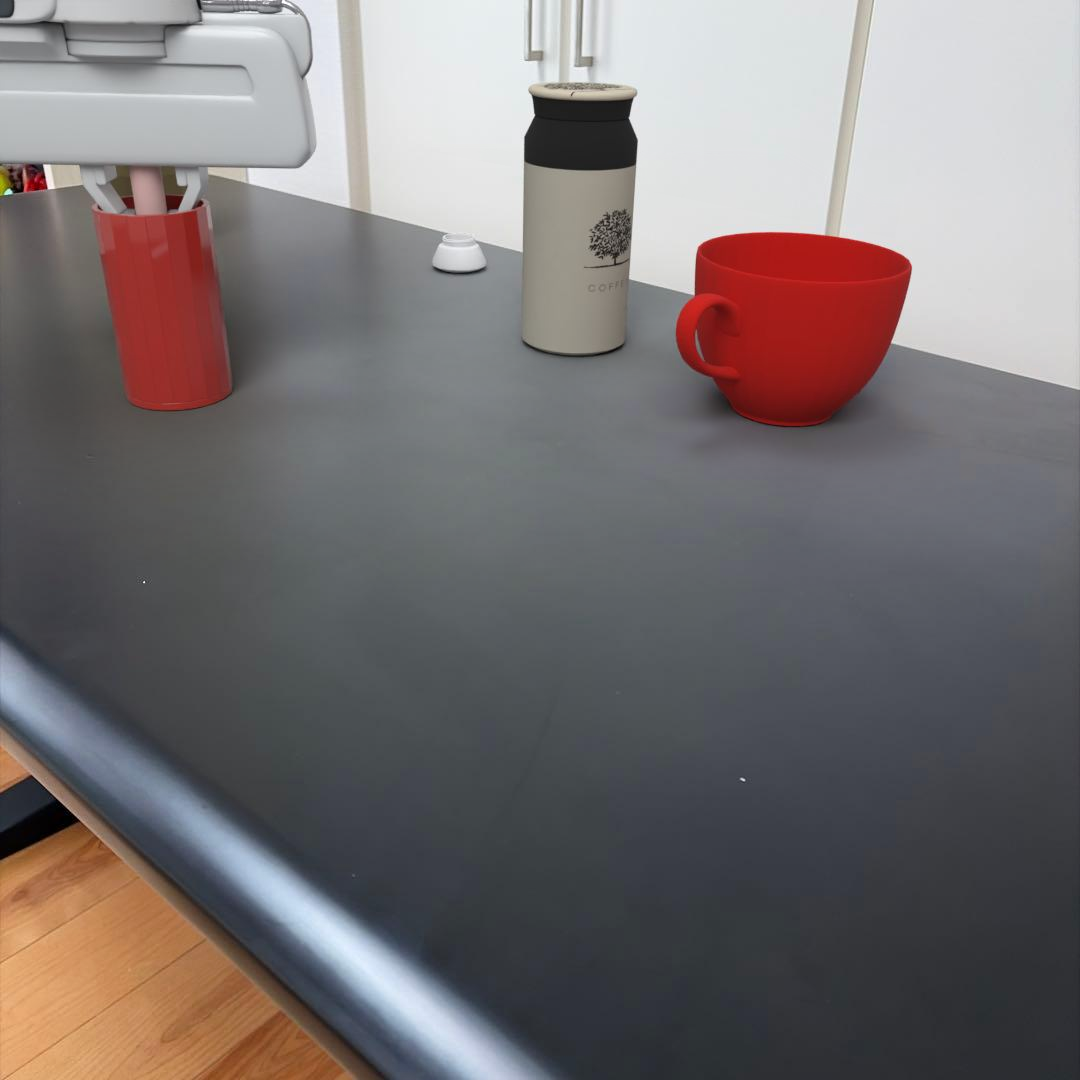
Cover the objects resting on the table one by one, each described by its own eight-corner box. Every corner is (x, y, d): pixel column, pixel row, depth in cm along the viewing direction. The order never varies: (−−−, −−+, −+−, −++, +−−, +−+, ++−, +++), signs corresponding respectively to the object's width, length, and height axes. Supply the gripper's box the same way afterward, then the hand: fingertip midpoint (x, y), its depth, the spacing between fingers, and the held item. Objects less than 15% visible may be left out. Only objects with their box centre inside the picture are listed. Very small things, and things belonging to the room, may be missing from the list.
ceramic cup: (598, 413, 66) (606, 257, 61) (766, 362, 76) (784, 223, 71) (755, 483, 57) (779, 307, 53) (922, 415, 67) (955, 261, 62)
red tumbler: (112, 410, 65) (75, 215, 59) (142, 374, 71) (111, 193, 65) (221, 410, 65) (194, 216, 59) (241, 374, 71) (219, 194, 65)
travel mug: (504, 332, 80) (505, 82, 72) (592, 321, 84) (603, 80, 75) (551, 364, 74) (559, 94, 66) (644, 349, 78) (663, 91, 69)
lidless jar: (426, 273, 96) (478, 276, 95) (425, 241, 94) (478, 244, 94) (440, 260, 100) (490, 263, 100) (440, 229, 99) (490, 232, 98)
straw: (157, 372, 66) (117, 123, 59) (165, 363, 68) (126, 119, 60) (186, 372, 66) (149, 124, 59) (193, 363, 68) (157, 120, 61)
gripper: (315, -10, 60) (333, 232, 66) (-47, -20, 59) (7, 228, 65) (299, -8, 54) (320, 256, 61) (-101, -19, 53) (-36, 252, 60)
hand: (156, 242), depth 63 cm, fingers closed on straw, 2 cm apart
